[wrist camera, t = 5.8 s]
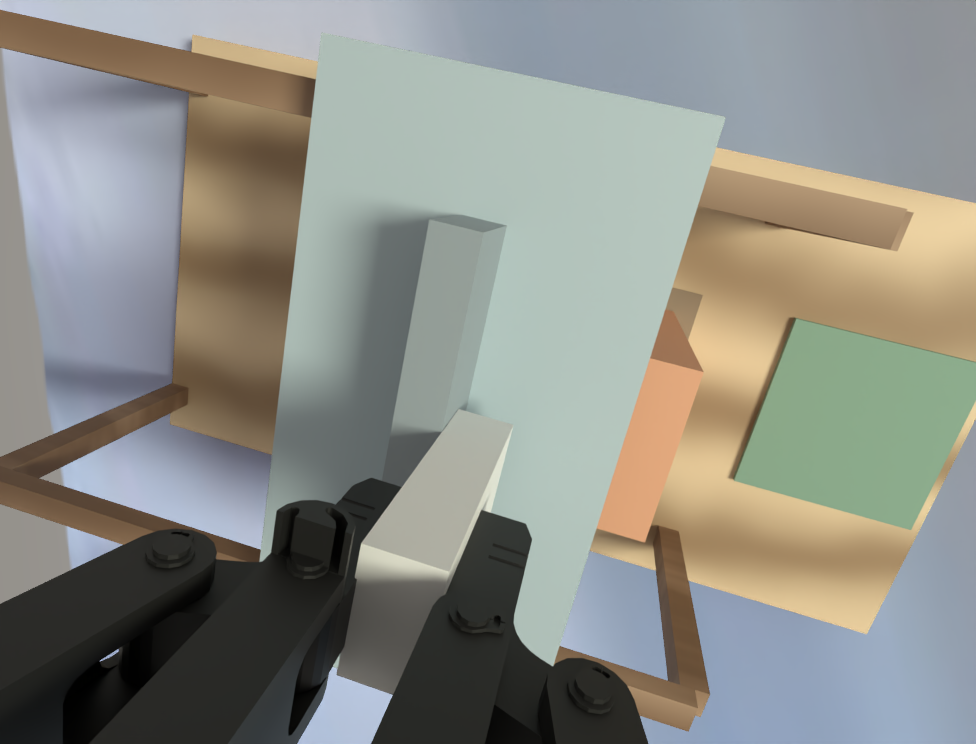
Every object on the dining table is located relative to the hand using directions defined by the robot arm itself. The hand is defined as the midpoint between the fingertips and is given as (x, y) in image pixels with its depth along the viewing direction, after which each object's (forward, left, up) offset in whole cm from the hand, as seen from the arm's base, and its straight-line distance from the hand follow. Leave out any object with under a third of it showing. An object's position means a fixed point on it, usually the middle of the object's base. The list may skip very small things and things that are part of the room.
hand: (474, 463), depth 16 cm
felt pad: (0, -15, -14) cm, 20 cm away
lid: (0, +1, -2) cm, 3 cm away
